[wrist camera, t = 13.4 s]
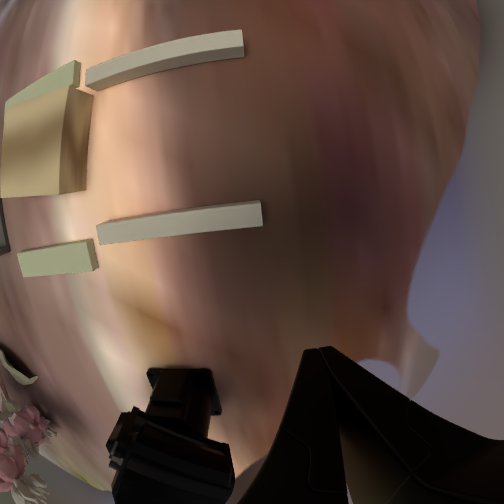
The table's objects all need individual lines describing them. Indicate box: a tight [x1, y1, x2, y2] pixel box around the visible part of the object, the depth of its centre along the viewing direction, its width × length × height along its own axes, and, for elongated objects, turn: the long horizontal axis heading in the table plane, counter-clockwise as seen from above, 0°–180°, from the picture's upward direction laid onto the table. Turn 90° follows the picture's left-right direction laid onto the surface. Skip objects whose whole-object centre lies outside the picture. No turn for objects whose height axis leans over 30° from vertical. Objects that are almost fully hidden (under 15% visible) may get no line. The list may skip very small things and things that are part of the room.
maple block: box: [0, 86, 94, 198], centre depth 16 cm, size 8×8×4 cm
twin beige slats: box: [85, 30, 263, 245], centre depth 17 cm, size 14×12×2 cm
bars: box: [4, 60, 98, 277], centre depth 18 cm, size 18×10×1 cm, turn 6°
